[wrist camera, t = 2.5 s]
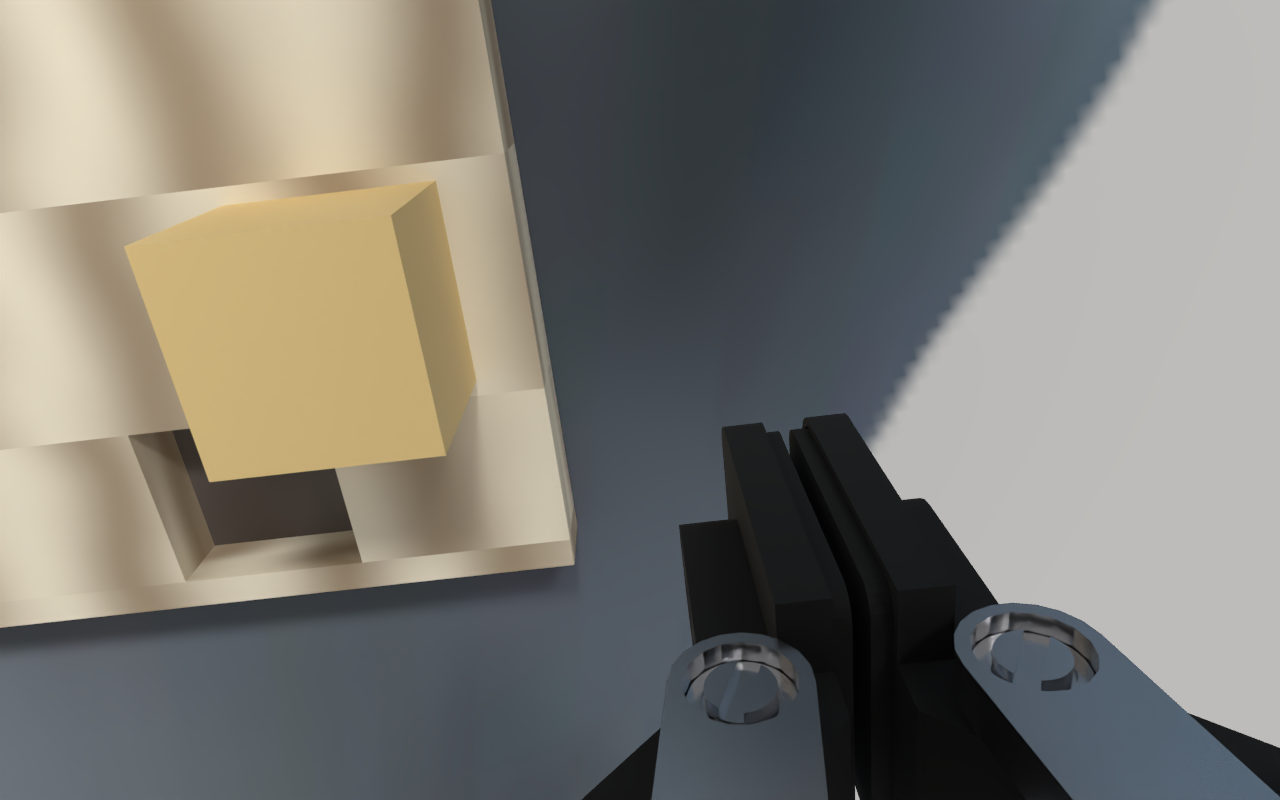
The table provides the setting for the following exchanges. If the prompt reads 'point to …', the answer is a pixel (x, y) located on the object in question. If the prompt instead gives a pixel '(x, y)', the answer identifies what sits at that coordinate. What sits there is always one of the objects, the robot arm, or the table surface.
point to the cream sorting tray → (233, 174)
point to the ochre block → (311, 330)
